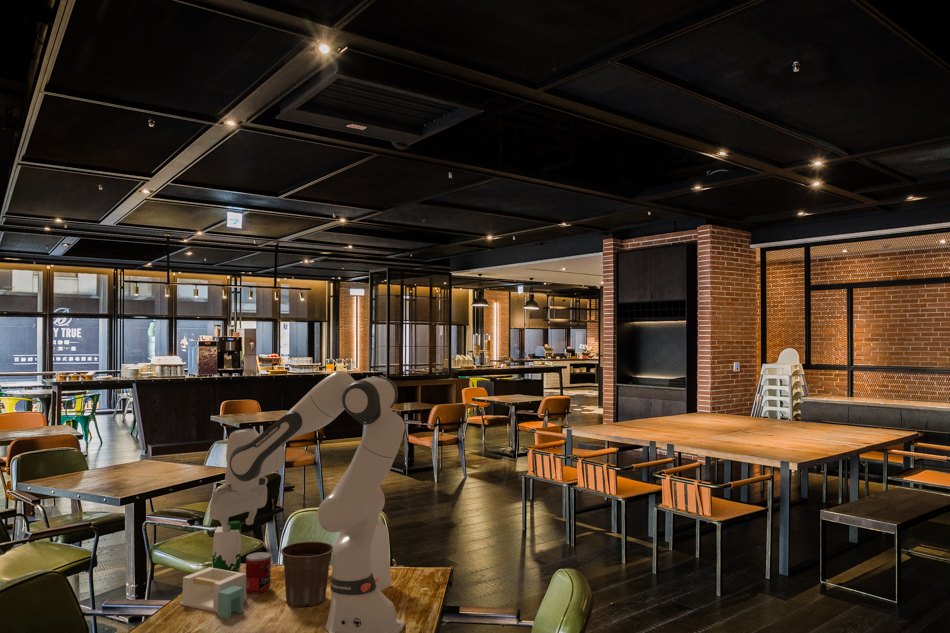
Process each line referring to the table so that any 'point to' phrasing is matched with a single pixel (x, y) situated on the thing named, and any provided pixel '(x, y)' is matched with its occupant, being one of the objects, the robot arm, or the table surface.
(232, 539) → the milk carton
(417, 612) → the table surface
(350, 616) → the robot arm
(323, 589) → the plant pot
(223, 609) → the green slotted block
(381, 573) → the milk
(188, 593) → the shelf
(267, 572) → the canned food
